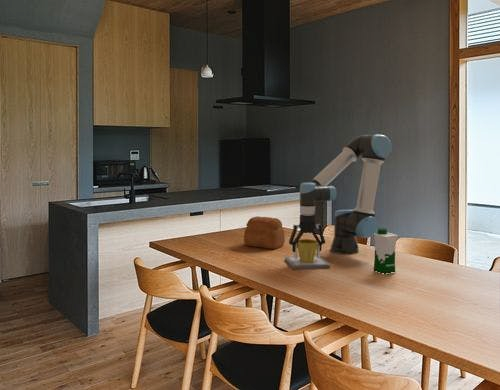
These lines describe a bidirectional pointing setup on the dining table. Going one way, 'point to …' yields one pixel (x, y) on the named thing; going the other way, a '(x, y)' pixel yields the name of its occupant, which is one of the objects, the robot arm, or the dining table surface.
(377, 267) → the milk carton
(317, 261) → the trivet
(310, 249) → the plant pot
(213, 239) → the dining table surface
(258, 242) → the bread
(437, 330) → the dining table surface
